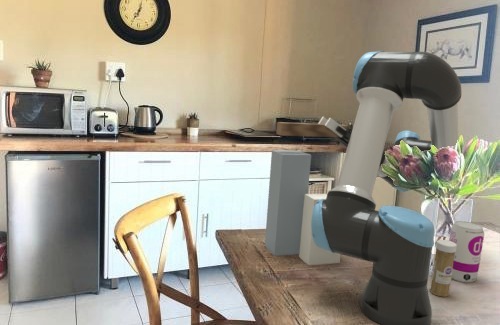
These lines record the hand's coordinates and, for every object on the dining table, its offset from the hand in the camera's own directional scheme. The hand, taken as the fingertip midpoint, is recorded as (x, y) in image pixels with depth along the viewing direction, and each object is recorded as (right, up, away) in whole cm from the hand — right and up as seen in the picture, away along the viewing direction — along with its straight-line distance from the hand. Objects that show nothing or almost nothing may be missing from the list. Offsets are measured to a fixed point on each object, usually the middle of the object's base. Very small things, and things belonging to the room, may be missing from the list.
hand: (324, 121), depth 126 cm
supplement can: (+36, -44, -8) cm, 58 cm away
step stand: (-7, -40, +1) cm, 40 cm away
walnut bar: (-3, -4, 0) cm, 6 cm away
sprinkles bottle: (+26, -45, -19) cm, 55 cm away
